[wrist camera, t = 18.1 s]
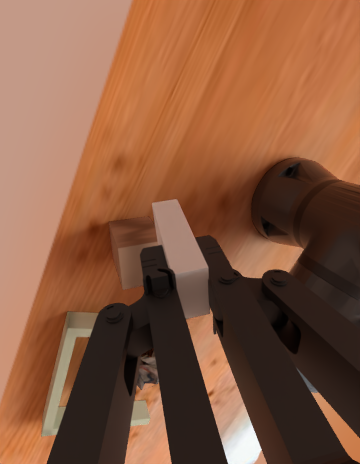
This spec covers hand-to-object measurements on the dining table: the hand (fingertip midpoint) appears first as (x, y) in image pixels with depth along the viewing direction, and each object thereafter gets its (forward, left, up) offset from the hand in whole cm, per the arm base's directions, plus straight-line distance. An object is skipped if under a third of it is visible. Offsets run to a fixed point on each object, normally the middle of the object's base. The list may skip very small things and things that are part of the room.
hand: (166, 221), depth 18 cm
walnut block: (-6, +11, -25) cm, 28 cm away
